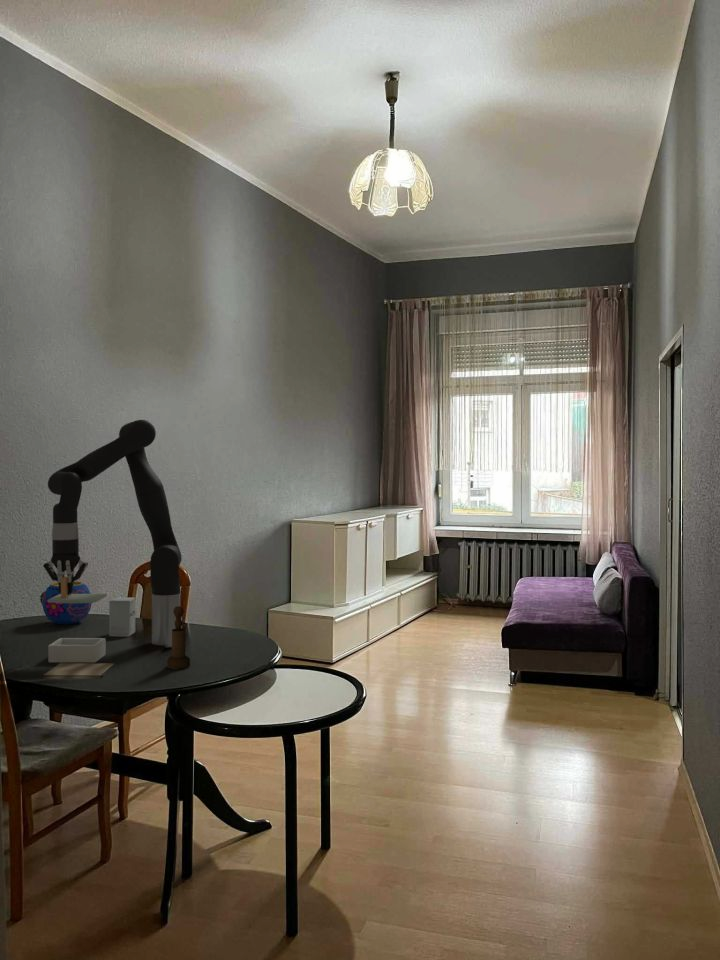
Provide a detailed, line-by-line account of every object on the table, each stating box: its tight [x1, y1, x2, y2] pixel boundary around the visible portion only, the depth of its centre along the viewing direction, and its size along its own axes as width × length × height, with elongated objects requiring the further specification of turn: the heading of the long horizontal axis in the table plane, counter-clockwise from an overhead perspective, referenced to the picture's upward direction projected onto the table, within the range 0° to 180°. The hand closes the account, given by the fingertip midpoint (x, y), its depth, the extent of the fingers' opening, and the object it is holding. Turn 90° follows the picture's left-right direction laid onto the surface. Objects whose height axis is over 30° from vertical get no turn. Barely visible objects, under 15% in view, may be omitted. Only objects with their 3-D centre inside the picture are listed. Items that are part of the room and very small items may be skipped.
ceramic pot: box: [39, 581, 93, 625], centre depth 305 cm, size 18×18×15 cm
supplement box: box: [108, 596, 136, 638], centre depth 286 cm, size 7×7×13 cm
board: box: [43, 662, 114, 680], centre depth 235 cm, size 16×13×1 cm
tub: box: [47, 637, 107, 663], centre depth 248 cm, size 14×10×6 cm
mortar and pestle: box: [166, 605, 191, 670], centre depth 242 cm, size 7×6×18 cm
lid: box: [48, 575, 108, 604], centre depth 247 cm, size 14×10×7 cm
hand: (66, 594), depth 247 cm, fingers closed on lid, 1 cm apart
